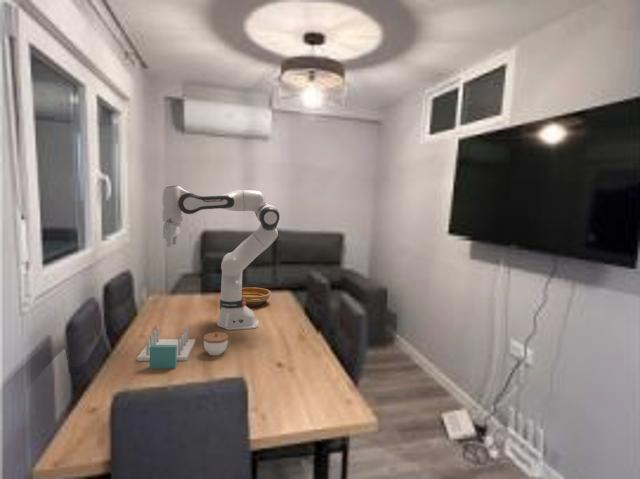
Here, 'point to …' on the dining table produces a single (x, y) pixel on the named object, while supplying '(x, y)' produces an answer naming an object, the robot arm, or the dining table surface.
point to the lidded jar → (215, 343)
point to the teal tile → (163, 356)
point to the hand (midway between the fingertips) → (171, 245)
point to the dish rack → (182, 344)
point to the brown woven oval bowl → (255, 295)
